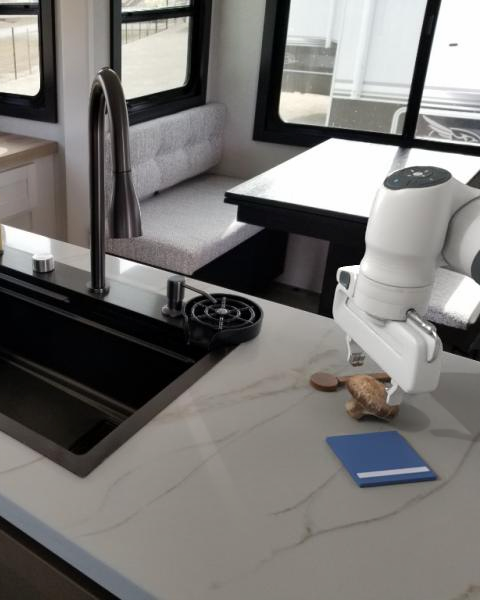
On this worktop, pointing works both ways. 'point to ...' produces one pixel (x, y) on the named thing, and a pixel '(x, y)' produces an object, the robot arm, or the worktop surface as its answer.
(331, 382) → the spoon
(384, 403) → the mushroom
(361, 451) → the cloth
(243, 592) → the worktop surface
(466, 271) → the robot arm
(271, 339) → the worktop surface
